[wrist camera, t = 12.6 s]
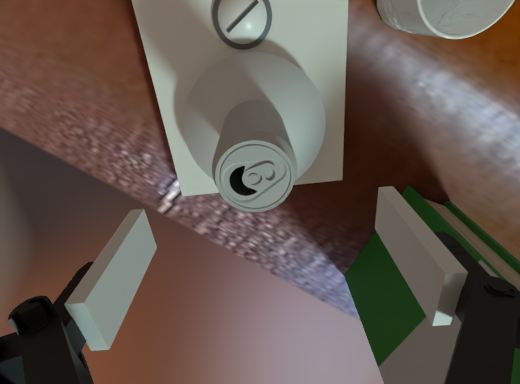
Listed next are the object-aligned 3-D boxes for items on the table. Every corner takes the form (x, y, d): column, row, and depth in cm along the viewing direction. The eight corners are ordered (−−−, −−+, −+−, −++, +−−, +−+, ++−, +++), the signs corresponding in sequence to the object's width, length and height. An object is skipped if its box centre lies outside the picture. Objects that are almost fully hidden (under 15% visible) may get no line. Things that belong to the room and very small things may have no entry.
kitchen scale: (340, -36, 29) (356, -48, 25) (336, 170, 40) (346, 187, 35) (138, -11, 30) (119, -18, 25) (187, 185, 40) (179, 204, 36)
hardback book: (407, 185, 41) (571, 350, 20) (451, 202, 42) (647, 372, 21) (344, 275, 49) (414, 464, 28) (383, 287, 50) (477, 474, 29)
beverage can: (213, 113, 31) (192, 157, 20) (271, 88, 30) (281, 120, 19) (238, 166, 34) (232, 228, 23) (292, 144, 33) (312, 199, 22)
